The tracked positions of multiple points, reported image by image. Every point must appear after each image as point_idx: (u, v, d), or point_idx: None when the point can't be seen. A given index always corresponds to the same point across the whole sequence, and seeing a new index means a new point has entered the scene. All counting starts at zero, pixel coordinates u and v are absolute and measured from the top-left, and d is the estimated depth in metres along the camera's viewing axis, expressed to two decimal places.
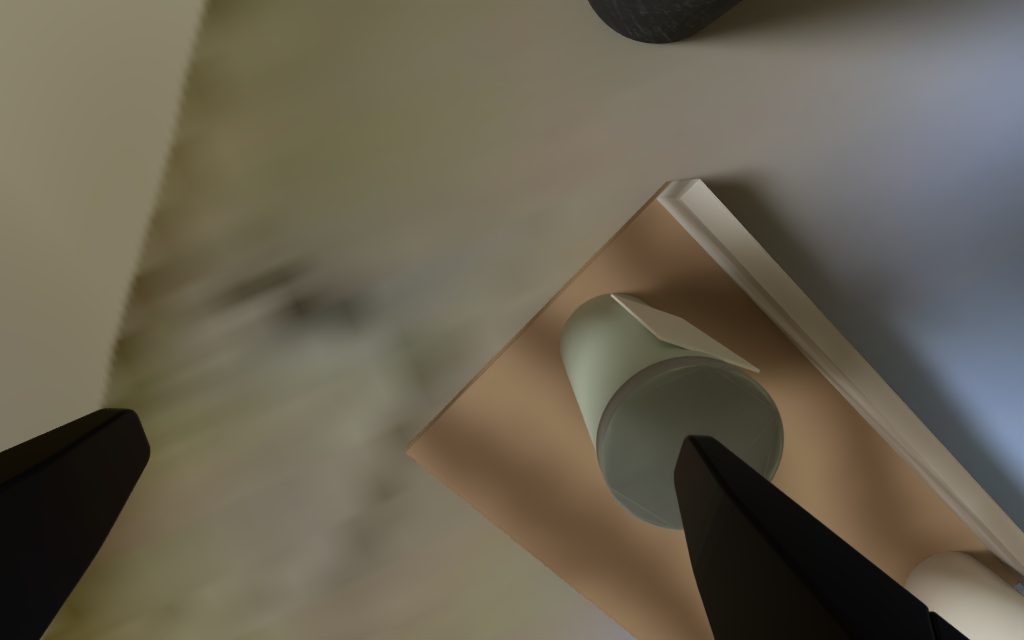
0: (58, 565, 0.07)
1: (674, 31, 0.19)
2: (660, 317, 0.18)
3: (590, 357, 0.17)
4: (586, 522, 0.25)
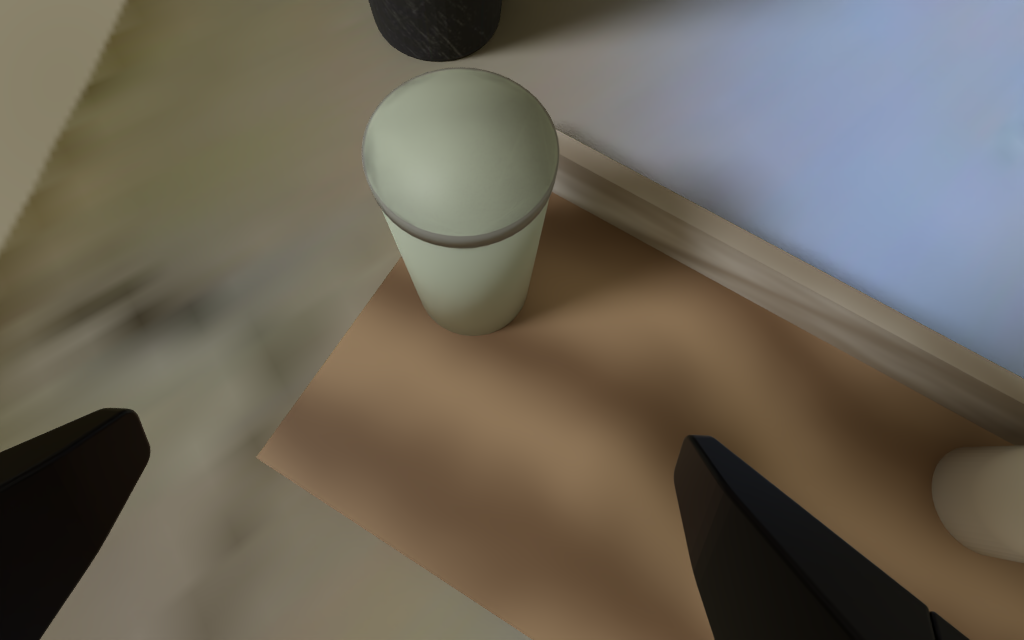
0: (58, 565, 0.07)
1: (450, 32, 0.25)
2: None
3: None
4: (500, 508, 0.20)
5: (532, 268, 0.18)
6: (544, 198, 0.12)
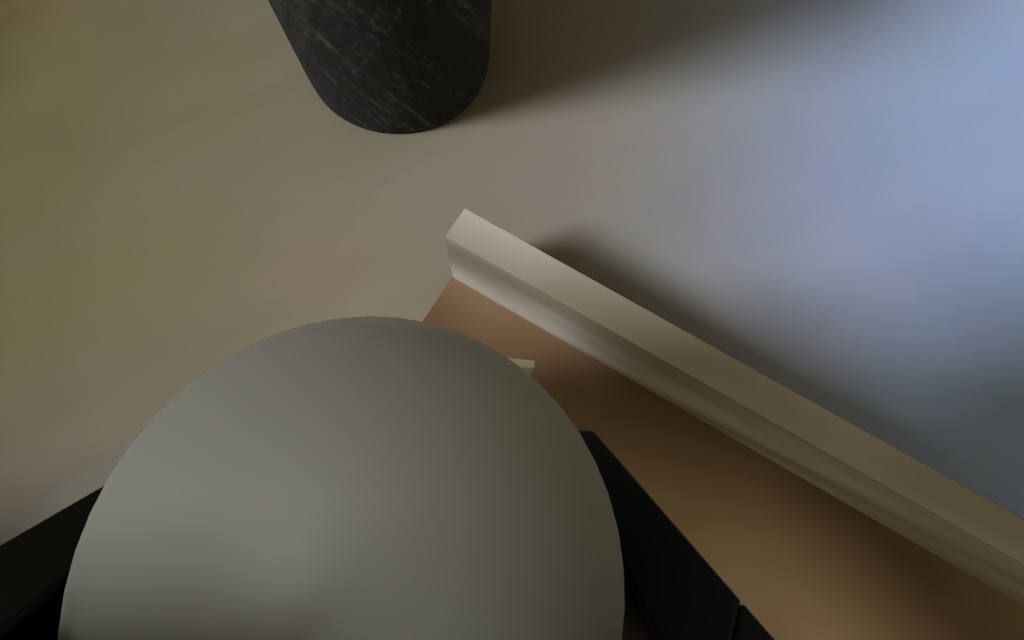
0: None
1: (412, 97, 0.17)
2: None
3: None
4: None
5: None
6: None
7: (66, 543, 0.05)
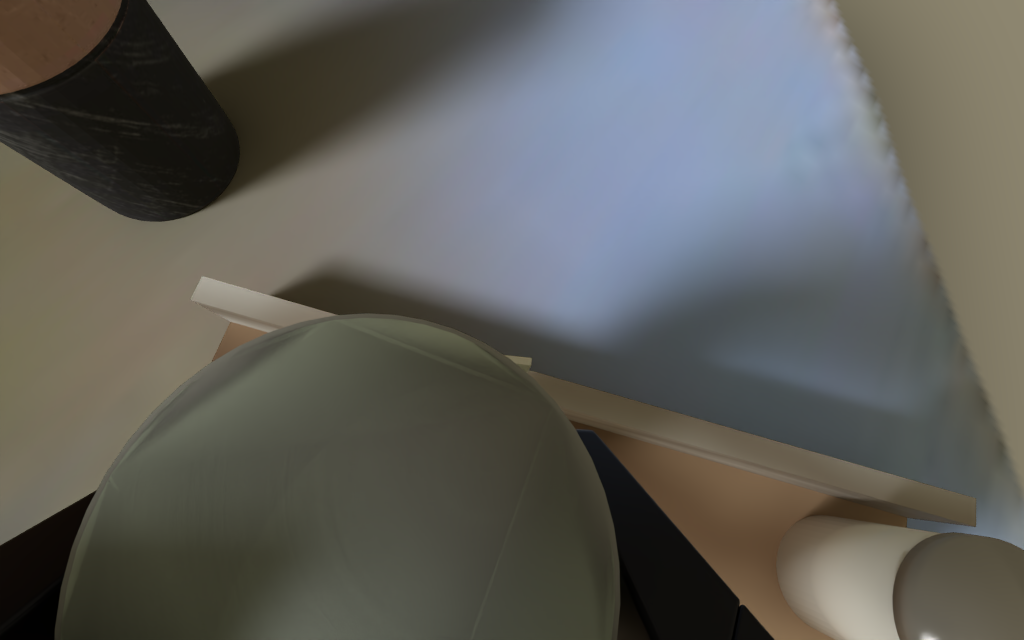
0: None
1: (168, 194, 0.22)
2: None
3: None
4: None
5: None
6: None
7: (66, 543, 0.05)
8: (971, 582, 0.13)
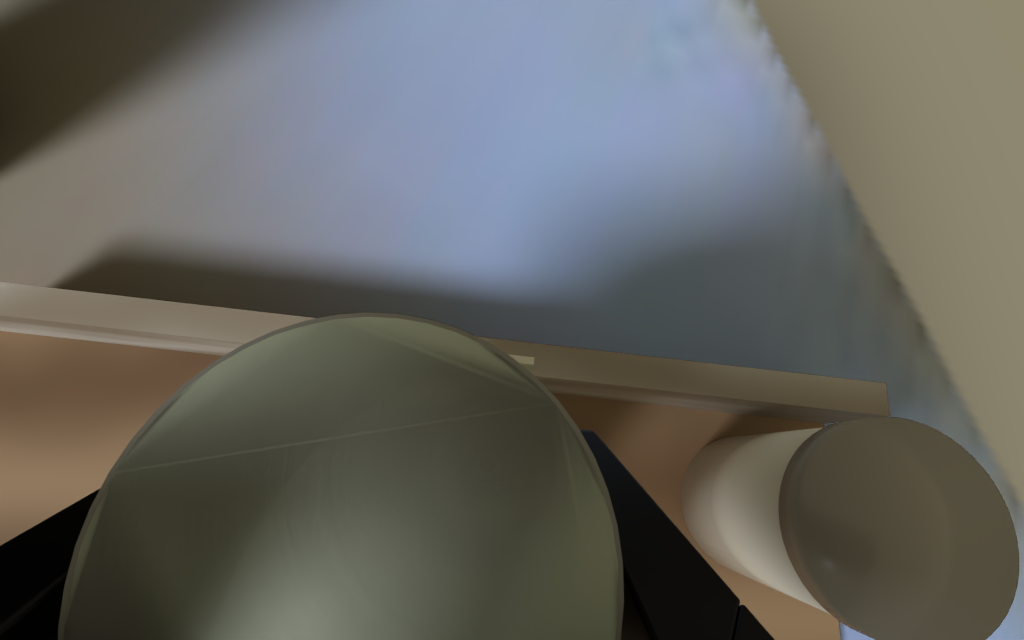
0: None
1: None
2: None
3: None
4: None
5: None
6: None
7: (66, 543, 0.05)
8: (867, 476, 0.10)
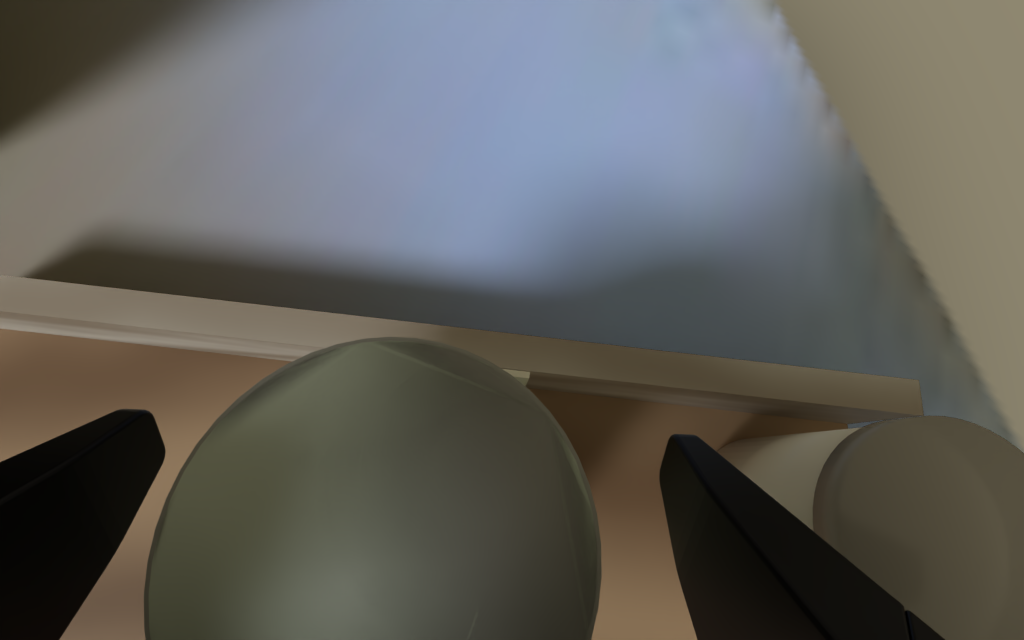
0: (77, 566, 0.07)
1: None
2: None
3: None
4: None
5: None
6: None
7: None
8: (914, 483, 0.09)
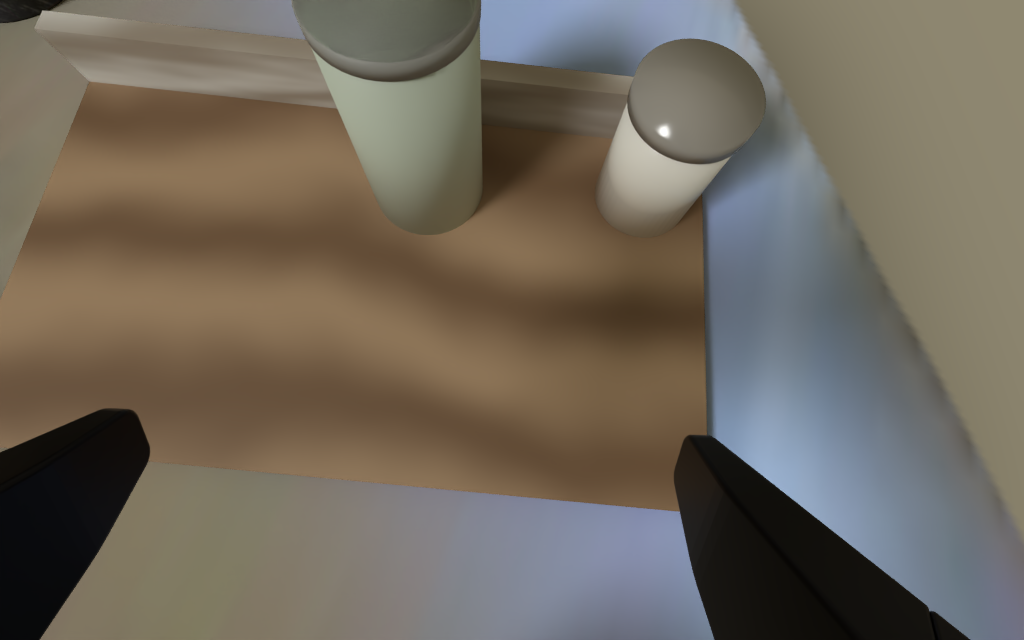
0: (58, 565, 0.07)
1: None
2: None
3: None
4: (214, 380, 0.20)
5: (477, 151, 0.19)
6: (465, 31, 0.13)
7: None
8: (676, 67, 0.17)
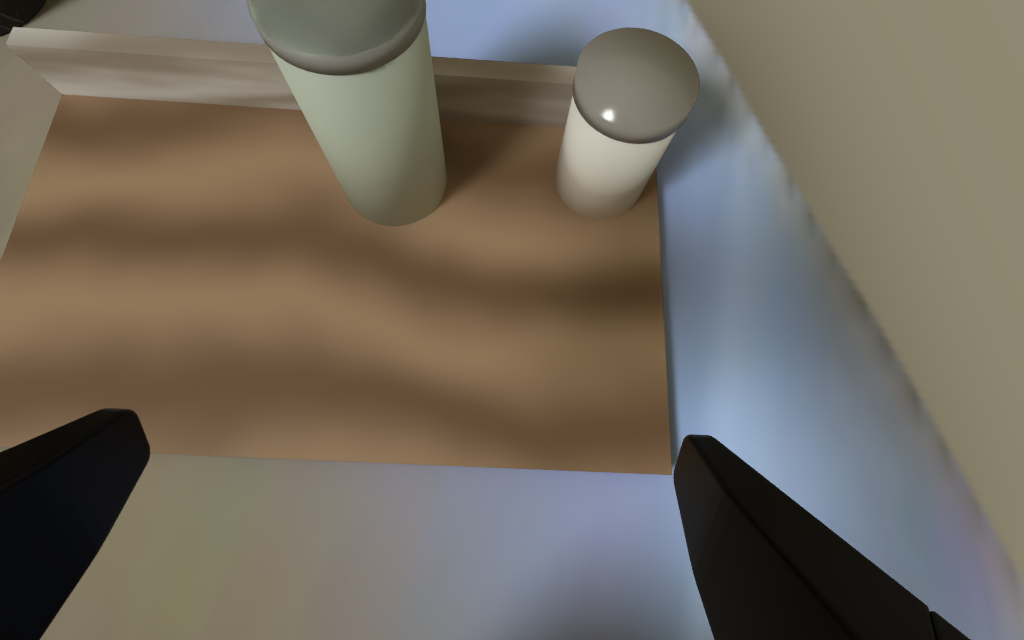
0: (58, 565, 0.07)
1: None
2: None
3: None
4: (195, 372, 0.21)
5: (437, 142, 0.20)
6: (410, 26, 0.14)
7: None
8: (616, 54, 0.18)
